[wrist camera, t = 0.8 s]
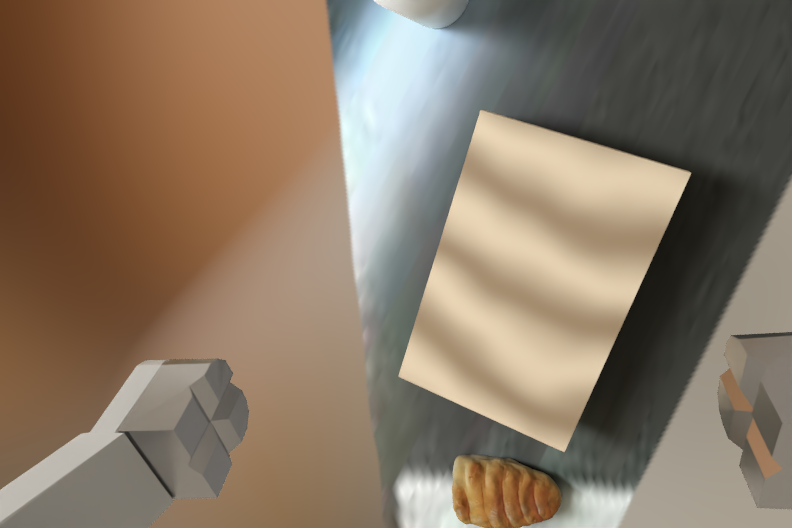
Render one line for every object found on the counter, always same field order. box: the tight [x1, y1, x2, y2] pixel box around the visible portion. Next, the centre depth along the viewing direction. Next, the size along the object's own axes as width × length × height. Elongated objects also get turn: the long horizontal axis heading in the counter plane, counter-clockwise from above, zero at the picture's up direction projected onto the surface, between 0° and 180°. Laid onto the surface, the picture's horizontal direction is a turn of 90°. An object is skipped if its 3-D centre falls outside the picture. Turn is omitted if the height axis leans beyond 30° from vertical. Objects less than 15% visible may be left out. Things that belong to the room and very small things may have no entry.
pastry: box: [452, 455, 561, 528], centre depth 49 cm, size 9×7×4 cm
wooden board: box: [398, 110, 691, 452], centre depth 42 cm, size 22×14×5 cm, turn 164°
